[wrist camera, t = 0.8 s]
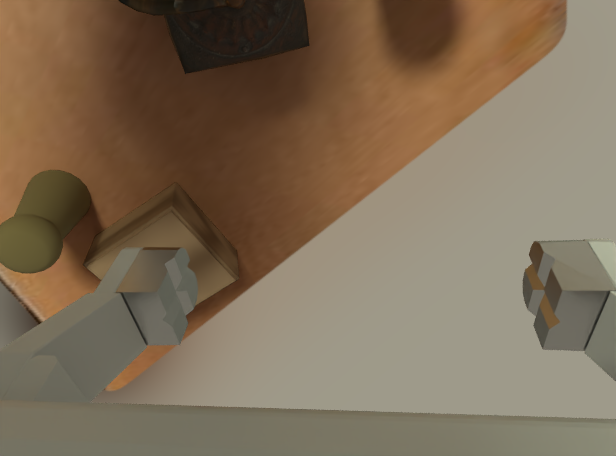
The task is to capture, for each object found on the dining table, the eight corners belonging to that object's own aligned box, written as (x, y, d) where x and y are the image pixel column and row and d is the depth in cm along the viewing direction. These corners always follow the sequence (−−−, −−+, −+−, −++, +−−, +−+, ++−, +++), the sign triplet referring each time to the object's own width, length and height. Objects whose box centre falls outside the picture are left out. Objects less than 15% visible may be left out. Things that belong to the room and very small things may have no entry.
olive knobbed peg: (88, 226, 49) (59, 289, 40) (25, 217, 48) (-20, 279, 38) (93, 176, 47) (63, 230, 37) (27, 164, 45) (-22, 217, 36)
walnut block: (95, 236, 50) (81, 267, 45) (175, 182, 49) (171, 207, 44) (162, 297, 56) (157, 331, 51) (236, 250, 54) (239, 281, 49)
